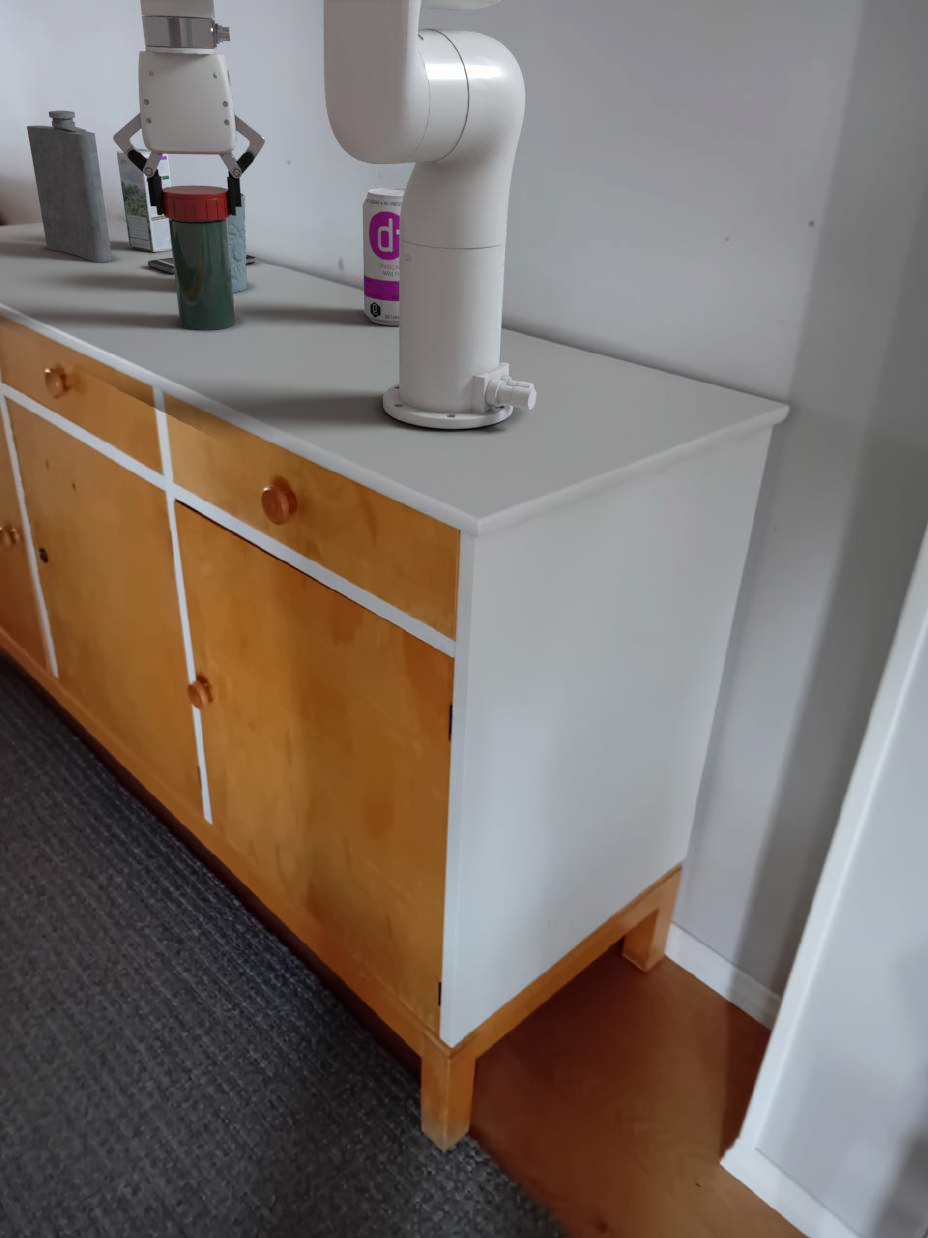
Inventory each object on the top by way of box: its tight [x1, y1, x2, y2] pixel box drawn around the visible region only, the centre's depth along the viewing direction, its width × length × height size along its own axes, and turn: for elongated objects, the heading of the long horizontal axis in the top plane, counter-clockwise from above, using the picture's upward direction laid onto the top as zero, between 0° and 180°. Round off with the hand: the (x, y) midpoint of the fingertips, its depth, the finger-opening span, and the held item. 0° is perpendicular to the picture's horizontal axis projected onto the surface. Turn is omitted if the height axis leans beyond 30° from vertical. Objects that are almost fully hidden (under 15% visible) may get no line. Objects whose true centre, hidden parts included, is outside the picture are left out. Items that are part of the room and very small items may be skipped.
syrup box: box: [116, 148, 173, 253], centre depth 158 cm, size 6×6×14 cm
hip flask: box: [26, 110, 113, 263], centre depth 151 cm, size 16×4×20 cm, turn 49°
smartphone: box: [147, 254, 257, 274], centre depth 151 cm, size 7×1×15 cm
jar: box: [169, 218, 236, 331], centre depth 118 cm, size 7×7×14 cm
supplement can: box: [362, 187, 406, 327], centre depth 123 cm, size 8×8×15 cm
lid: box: [162, 185, 231, 221], centre depth 115 cm, size 8×8×3 cm
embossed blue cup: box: [227, 192, 248, 294], centre depth 135 cm, size 10×10×12 cm
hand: (197, 212), depth 115 cm, fingers closed on lid, 7 cm apart
